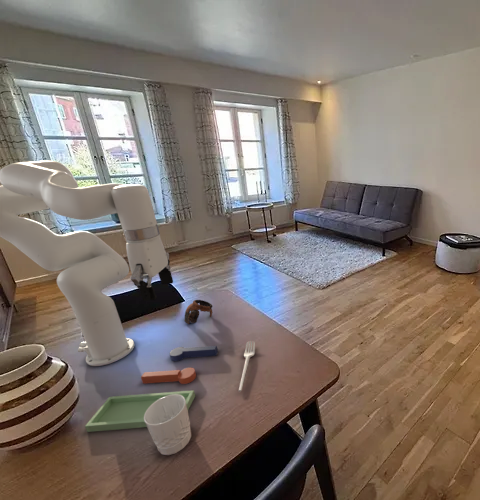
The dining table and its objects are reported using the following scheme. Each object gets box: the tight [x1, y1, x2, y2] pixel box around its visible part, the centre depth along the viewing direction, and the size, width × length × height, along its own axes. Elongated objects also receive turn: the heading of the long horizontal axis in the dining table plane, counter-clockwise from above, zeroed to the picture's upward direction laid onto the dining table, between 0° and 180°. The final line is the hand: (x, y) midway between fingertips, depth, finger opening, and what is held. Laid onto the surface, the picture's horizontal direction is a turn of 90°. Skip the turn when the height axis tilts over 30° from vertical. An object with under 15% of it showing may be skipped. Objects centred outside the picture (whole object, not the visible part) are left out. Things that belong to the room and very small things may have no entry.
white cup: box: [144, 394, 192, 456], centre depth 66 cm, size 8×8×10 cm
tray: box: [84, 390, 196, 433], centre depth 74 cm, size 22×9×2 cm, turn 95°
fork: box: [238, 340, 256, 393], centre depth 89 cm, size 3×20×2 cm, turn 9°
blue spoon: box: [169, 345, 219, 362], centre depth 94 cm, size 14×4×2 cm, turn 95°
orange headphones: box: [183, 299, 213, 325], centre depth 113 cm, size 12×10×8 cm
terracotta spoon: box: [140, 367, 197, 385], centre depth 85 cm, size 14×4×2 cm, turn 95°
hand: (159, 291), depth 83 cm, fingers open, 9 cm apart
